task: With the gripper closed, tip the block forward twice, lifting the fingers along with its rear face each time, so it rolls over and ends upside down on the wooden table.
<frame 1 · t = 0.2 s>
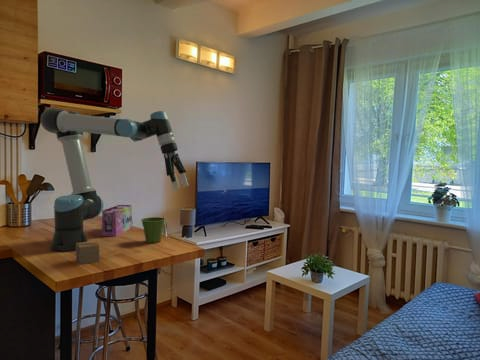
hand: (181, 187, 162), 28 cm above the counter, tool tilted 20°, fingers open, 13 cm apart
gum box: (117, 232, 192), on the counter
block: (87, 261, 138), on the counter
plant pot: (153, 242, 171), on the counter
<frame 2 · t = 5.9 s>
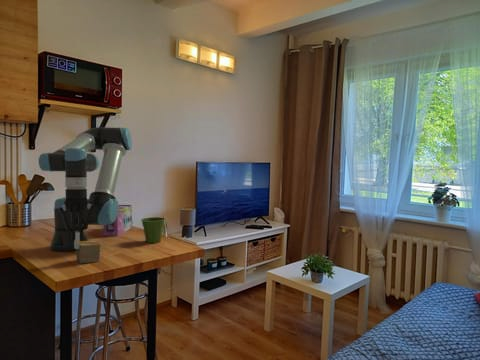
hand: (77, 248, 136), 6 cm above the counter, tool pointing down, fingers closed
block: (87, 260, 138), on the counter, touching gripper
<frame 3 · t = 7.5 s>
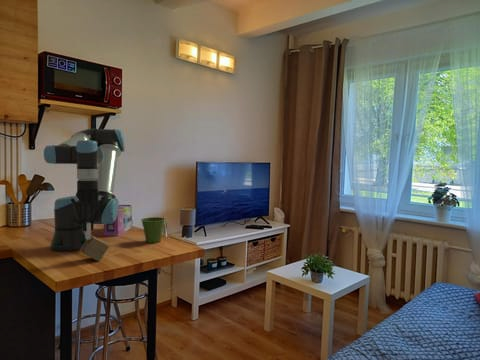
hand: (88, 238, 138), 9 cm above the counter, tool pointing down, fingers closed
block: (89, 255, 139), point 2 cm above the counter, tilted 35°, touching gripper
everything else where it was.
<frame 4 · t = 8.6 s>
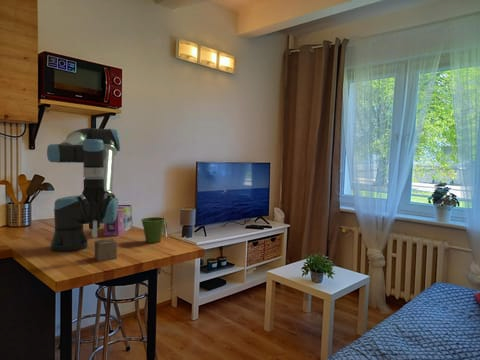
hand: (94, 236, 139), 9 cm above the counter, tool pointing down, fingers closed
block: (96, 251, 140), point 3 cm above the counter, tilted 90°
everything else where it was.
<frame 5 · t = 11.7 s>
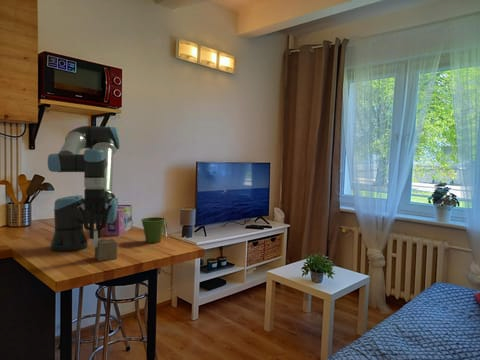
hand: (95, 246, 140), 5 cm above the counter, tool pointing down, fingers closed
block: (97, 250, 140), point 4 cm above the counter, tilted 92°, touching gripper
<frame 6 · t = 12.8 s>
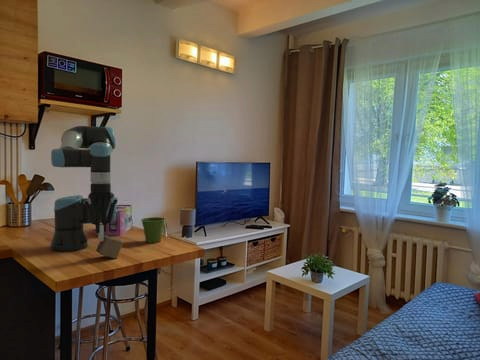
hand: (101, 240, 141), 8 cm above the counter, tool pointing down, fingers closed
block: (101, 244, 141), point 6 cm above the counter, tilted 113°, touching gripper
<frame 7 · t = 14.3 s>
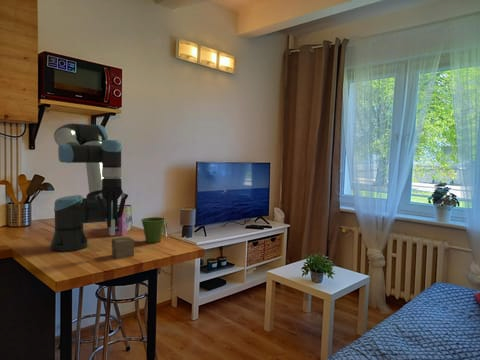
hand: (112, 234, 143), 9 cm above the counter, tool pointing down, fingers closed
block: (122, 239, 146), point 7 cm above the counter, tilted 180°
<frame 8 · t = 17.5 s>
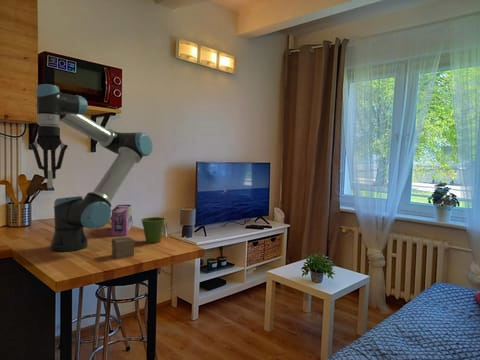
hand: (50, 187, 134), 29 cm above the counter, tool pointing down, fingers closed
at the end: block tilted 180°; block inside the target area (0.5 cm from its centre), point 6.9 cm above the counter; the gripper is holding nothing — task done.
